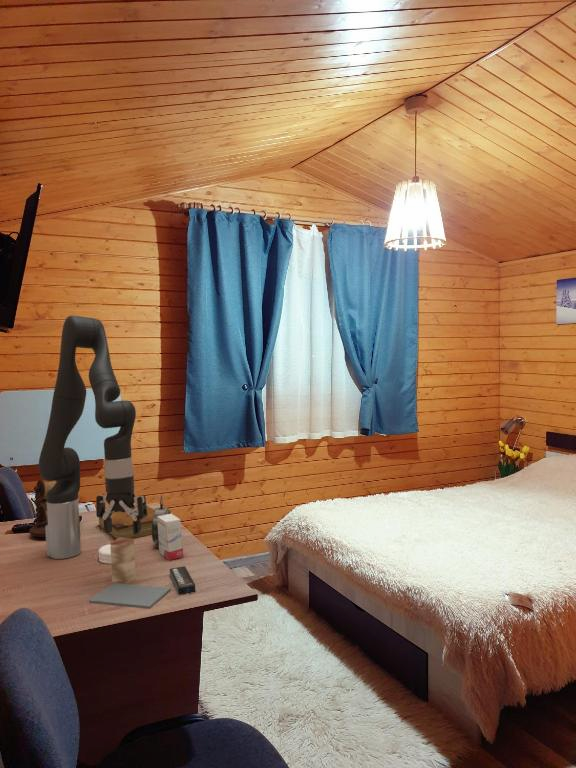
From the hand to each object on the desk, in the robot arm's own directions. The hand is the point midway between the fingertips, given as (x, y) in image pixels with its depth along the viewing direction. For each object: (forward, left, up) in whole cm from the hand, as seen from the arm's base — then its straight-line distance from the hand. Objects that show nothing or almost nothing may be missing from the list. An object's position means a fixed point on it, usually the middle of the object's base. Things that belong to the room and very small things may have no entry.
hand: (122, 533), depth 158 cm
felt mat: (+7, -9, -13) cm, 18 cm away
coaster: (-12, +15, -14) cm, 24 cm away
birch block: (0, 0, -13) cm, 13 cm away
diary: (-23, +42, -14) cm, 50 cm away
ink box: (+3, +20, -13) cm, 24 cm away
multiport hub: (+17, +1, -14) cm, 22 cm away
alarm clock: (-4, +29, -13) cm, 32 cm away
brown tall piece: (-48, +32, -13) cm, 59 cm away
